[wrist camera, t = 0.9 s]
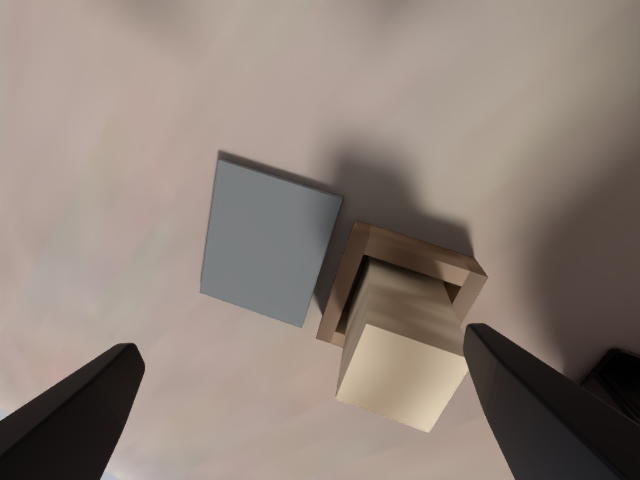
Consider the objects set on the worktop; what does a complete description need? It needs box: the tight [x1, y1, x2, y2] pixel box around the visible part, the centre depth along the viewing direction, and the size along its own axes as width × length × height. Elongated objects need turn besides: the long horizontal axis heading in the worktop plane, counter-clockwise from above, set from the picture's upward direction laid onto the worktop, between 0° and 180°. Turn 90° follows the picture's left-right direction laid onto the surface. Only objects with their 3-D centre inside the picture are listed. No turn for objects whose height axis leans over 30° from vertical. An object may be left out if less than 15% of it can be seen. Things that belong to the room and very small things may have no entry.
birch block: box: [335, 256, 469, 433], centre depth 17 cm, size 4×4×8 cm
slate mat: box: [200, 159, 343, 328], centre depth 21 cm, size 8×10×1 cm
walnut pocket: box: [316, 220, 488, 348], centre depth 20 cm, size 8×8×2 cm
